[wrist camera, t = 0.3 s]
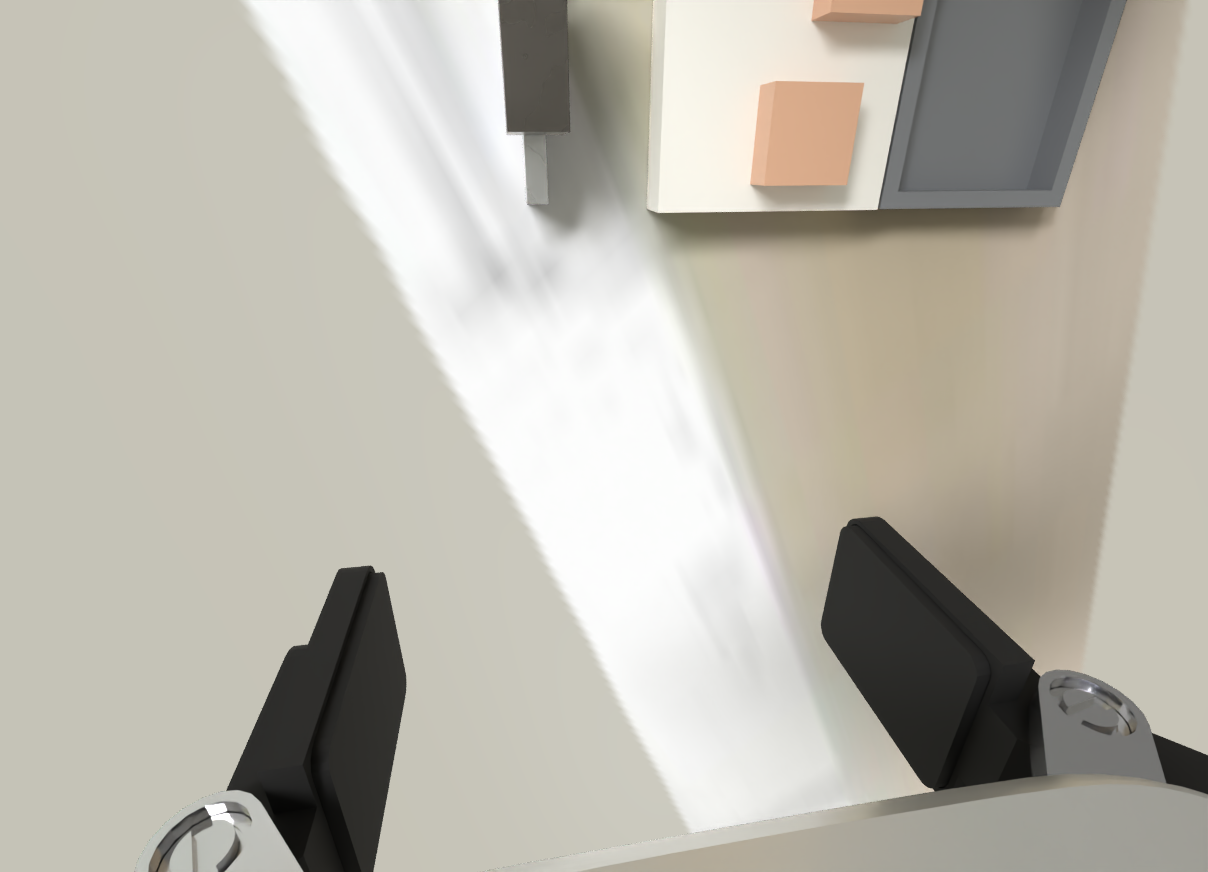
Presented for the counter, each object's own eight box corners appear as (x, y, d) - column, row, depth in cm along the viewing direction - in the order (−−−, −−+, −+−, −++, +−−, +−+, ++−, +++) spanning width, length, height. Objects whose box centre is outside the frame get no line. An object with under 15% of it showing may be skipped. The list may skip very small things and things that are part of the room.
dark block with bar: (489, -124, 28) (485, -203, 22) (549, -120, 29) (562, -197, 23) (510, 201, 35) (512, 210, 29) (559, 200, 35) (571, 209, 29)
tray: (914, -108, 31) (946, -129, 29) (1118, -93, 33) (1162, -111, 31) (857, 206, 38) (879, 209, 36) (1028, 204, 40) (1059, 206, 38)
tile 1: (760, 85, 32) (775, 80, 30) (844, 86, 32) (864, 82, 30) (750, 184, 34) (763, 185, 32) (828, 183, 34) (846, 185, 33)
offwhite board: (656, -127, 29) (672, -156, 27) (906, -109, 31) (944, -134, 29) (646, 208, 36) (658, 212, 34) (851, 206, 38) (877, 209, 36)
